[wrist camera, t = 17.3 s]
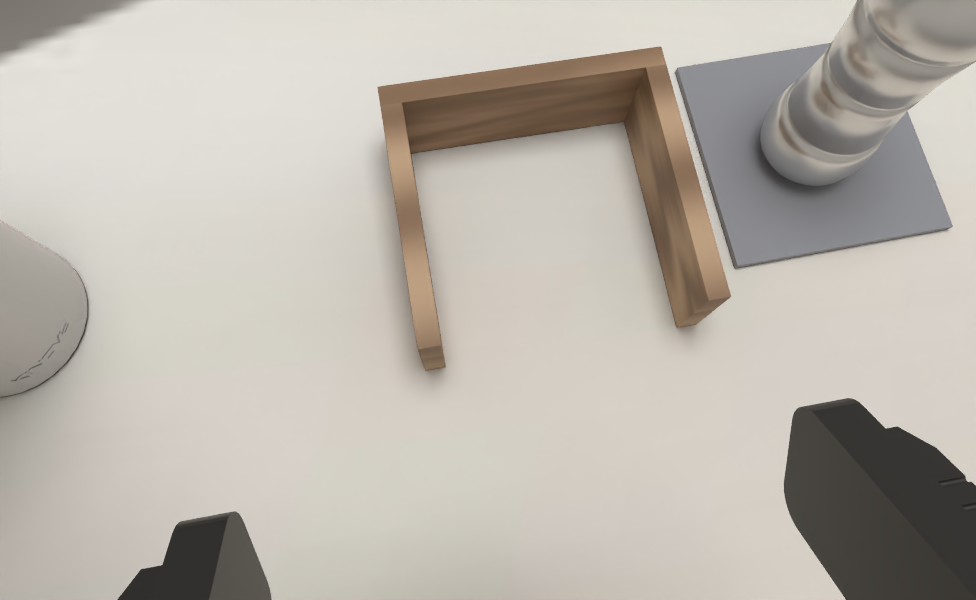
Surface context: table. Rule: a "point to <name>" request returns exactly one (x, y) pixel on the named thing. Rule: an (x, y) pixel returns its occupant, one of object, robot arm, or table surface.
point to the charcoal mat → (786, 204)
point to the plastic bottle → (866, 85)
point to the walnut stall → (550, 108)
